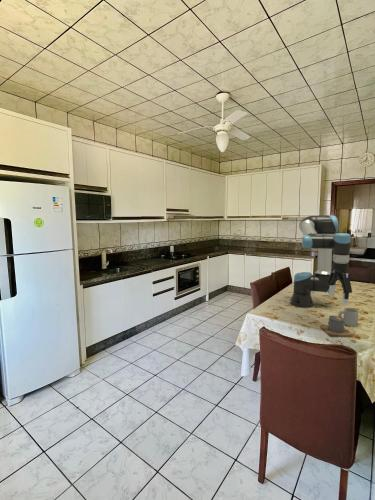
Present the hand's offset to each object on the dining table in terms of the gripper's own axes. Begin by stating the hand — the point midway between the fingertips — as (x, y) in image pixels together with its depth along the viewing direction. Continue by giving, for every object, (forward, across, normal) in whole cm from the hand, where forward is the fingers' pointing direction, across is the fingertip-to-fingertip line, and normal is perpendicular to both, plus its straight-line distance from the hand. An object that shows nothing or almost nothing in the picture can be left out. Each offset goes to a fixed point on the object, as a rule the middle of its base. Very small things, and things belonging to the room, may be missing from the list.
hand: (338, 300), depth 142 cm
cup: (+19, -11, +12) cm, 25 cm away
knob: (+17, 0, 0) cm, 17 cm away
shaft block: (+18, 0, 0) cm, 18 cm away
